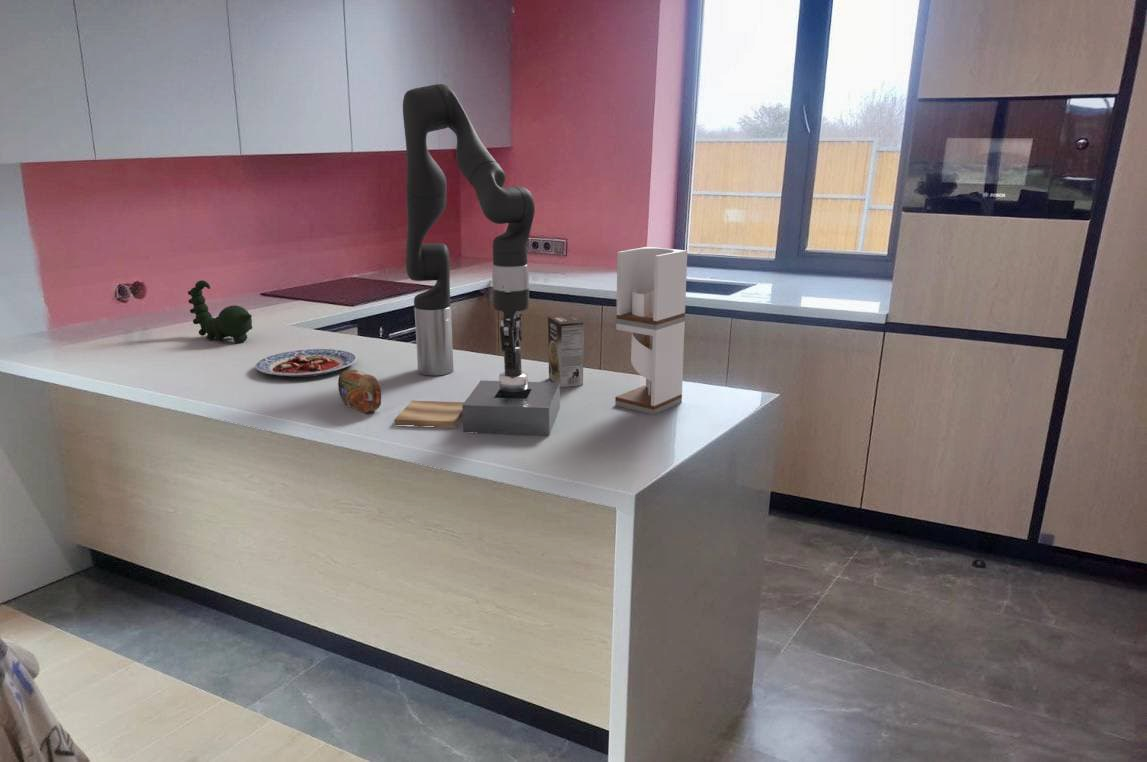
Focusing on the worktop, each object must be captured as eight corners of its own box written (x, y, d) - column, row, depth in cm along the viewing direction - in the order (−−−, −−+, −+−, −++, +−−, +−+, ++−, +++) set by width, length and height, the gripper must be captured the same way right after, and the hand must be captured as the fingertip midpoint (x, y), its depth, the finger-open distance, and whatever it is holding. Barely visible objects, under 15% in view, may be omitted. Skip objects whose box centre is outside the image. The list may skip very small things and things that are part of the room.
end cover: (501, 383, 177) (500, 344, 175) (529, 383, 177) (527, 343, 174) (498, 392, 172) (496, 351, 169) (526, 392, 171) (524, 350, 169)
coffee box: (547, 378, 207) (547, 316, 202) (571, 375, 209) (571, 314, 205) (559, 387, 199) (559, 323, 194) (584, 385, 201) (584, 321, 196)
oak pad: (412, 406, 185) (412, 400, 184) (468, 408, 184) (468, 402, 183) (394, 426, 172) (394, 419, 172) (454, 428, 171) (454, 421, 171)
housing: (481, 405, 186) (480, 380, 184) (559, 407, 184) (559, 382, 182) (463, 432, 168) (462, 405, 167) (549, 435, 167) (549, 407, 165)
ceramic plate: (328, 385, 202) (327, 373, 201) (235, 379, 207) (234, 368, 206) (373, 359, 226) (372, 348, 225) (289, 354, 231) (288, 344, 230)
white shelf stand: (643, 393, 194) (647, 246, 184) (681, 402, 188) (687, 250, 178) (615, 405, 186) (617, 251, 176) (653, 414, 179) (658, 256, 169)
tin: (338, 402, 189) (335, 367, 186) (350, 399, 191) (347, 364, 188) (372, 417, 178) (370, 380, 176) (385, 413, 180) (382, 377, 178)
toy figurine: (188, 344, 249) (243, 346, 237) (176, 282, 244) (231, 282, 232) (214, 338, 257) (269, 339, 245) (203, 278, 252) (258, 277, 240)
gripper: (499, 280, 175) (501, 357, 180) (485, 292, 161) (488, 375, 166) (533, 280, 174) (534, 358, 179) (523, 292, 161) (524, 376, 166)
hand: (512, 365), depth 173 cm, fingers closed on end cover, 3 cm apart
